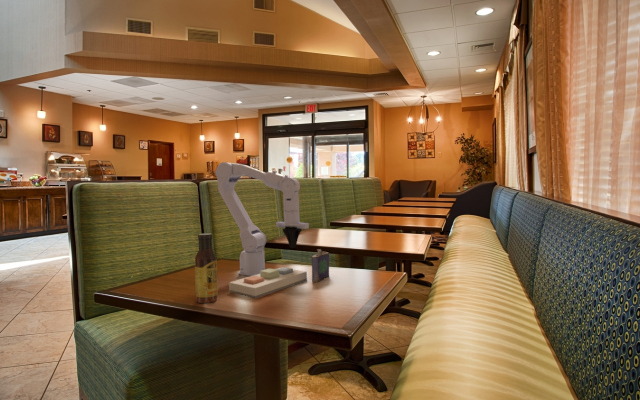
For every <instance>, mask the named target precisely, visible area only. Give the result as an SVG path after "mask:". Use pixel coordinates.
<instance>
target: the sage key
mask: <svg viewBox="0 0 640 400" xmlns="http://www.w3.org/2000/svg"><path fill="white" fill-rule="evenodd" d="M276 269H277V268H269V267H268V268H265V270H262V271H260V277H263V278H264V279H273V278H276V277H279V270H276Z"/></svg>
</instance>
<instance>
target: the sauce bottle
mask: <svg viewBox="0 0 640 400" xmlns="http://www.w3.org/2000/svg"><path fill="white" fill-rule="evenodd" d="M197 239H198V251H197V253H196V255H195V257H194V263H195V266H194V274H195V275H194V278H195V281H194V282H195V288H194V289H195V297H196V302H197V303H199V304H208V303H213V302H215V301H217V299H218V288H219V287H218V260H217V257H216V254H215V252H214V249H213V234H212V233H199V234H197Z"/></svg>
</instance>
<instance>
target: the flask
mask: <svg viewBox="0 0 640 400" xmlns="http://www.w3.org/2000/svg"><path fill="white" fill-rule="evenodd" d="M316 251H317V254H313V255H312V256H311V280H312V281H311V282H312V283H317V282H318V283H319V282H320V281H321V282H322V281H324V280H326V279H329V278H330V252H327V251H322V249H321V248H320V249H319V248H318V249H316Z"/></svg>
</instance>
